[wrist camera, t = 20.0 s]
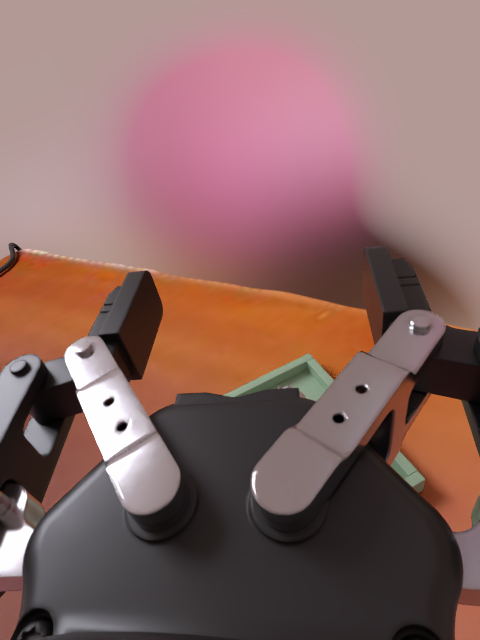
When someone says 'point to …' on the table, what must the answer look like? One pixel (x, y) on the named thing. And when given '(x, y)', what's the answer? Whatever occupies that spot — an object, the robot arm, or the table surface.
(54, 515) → the robot arm
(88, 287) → the table surface
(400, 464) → the tray
